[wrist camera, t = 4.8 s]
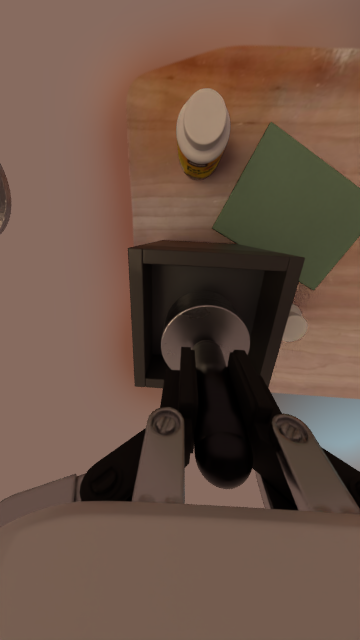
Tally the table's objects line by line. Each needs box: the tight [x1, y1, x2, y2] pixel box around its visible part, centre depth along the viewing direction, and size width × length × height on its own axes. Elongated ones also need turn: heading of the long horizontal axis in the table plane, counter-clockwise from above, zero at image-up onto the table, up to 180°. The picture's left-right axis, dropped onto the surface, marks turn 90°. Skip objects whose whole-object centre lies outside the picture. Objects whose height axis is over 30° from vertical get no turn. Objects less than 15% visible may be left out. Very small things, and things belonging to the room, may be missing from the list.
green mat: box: [212, 122, 360, 290], centre depth 30 cm, size 20×14×1 cm
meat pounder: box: [161, 291, 253, 489], centre depth 11 cm, size 6×6×12 cm
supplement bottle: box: [176, 88, 230, 180], centre depth 23 cm, size 6×6×10 cm
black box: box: [128, 240, 305, 388], centre depth 25 cm, size 12×12×20 cm
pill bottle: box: [282, 303, 308, 342], centre depth 31 cm, size 5×5×10 cm
